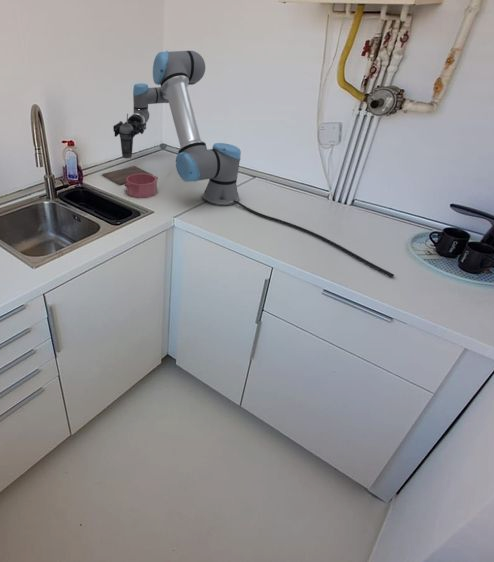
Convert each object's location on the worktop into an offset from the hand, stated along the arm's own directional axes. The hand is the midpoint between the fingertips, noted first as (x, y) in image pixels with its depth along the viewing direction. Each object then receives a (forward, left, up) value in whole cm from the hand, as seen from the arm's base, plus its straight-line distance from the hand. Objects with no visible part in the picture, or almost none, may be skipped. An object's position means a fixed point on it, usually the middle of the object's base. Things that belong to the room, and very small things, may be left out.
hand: (123, 134), depth 170 cm
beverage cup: (+3, -4, -12) cm, 13 cm away
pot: (-17, +2, -21) cm, 27 cm away
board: (+3, -4, -21) cm, 22 cm away
